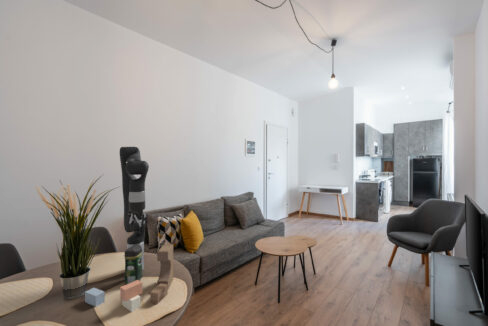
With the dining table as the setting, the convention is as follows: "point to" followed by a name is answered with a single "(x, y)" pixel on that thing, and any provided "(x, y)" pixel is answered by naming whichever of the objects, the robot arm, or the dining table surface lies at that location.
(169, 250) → the decorative block
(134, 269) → the coffee jar
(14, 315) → the dining table surface
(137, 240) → the robot arm
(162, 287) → the walnut brick
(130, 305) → the cream brick
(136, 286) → the terracotta brick
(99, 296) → the slate brick
